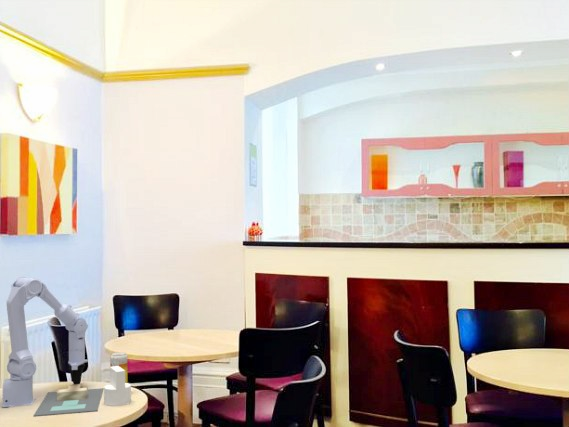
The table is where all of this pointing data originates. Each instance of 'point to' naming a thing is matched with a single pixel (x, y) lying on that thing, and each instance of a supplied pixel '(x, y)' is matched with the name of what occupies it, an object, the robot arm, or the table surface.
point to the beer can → (119, 362)
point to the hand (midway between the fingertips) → (76, 384)
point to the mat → (69, 404)
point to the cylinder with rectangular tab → (117, 388)
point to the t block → (72, 393)
